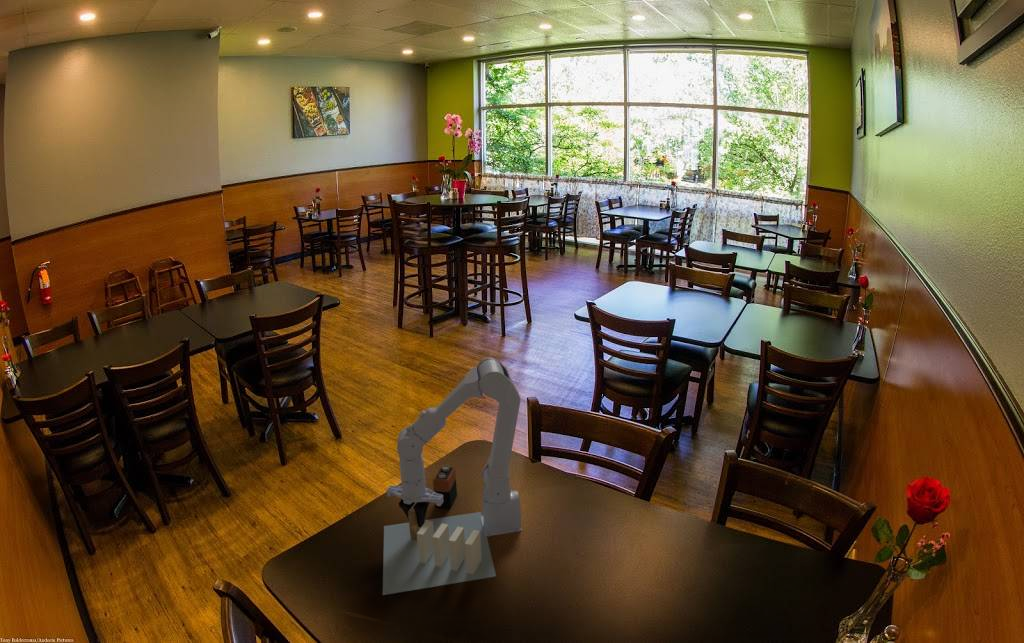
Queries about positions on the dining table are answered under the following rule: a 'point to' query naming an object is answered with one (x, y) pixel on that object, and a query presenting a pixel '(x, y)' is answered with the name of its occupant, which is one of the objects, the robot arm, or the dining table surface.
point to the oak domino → (413, 523)
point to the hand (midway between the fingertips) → (417, 524)
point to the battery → (446, 486)
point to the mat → (412, 575)
